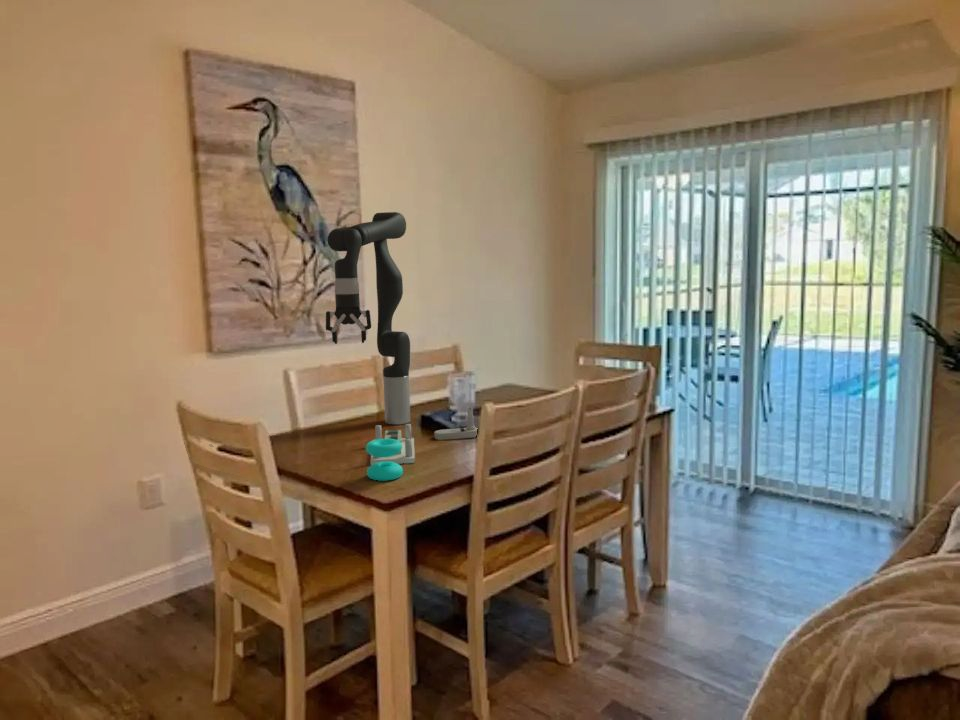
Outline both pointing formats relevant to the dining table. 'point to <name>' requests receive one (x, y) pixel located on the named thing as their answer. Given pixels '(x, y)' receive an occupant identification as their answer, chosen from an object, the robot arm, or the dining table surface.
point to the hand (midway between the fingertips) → (349, 343)
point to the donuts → (384, 469)
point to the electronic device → (459, 430)
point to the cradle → (406, 451)
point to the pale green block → (394, 435)
